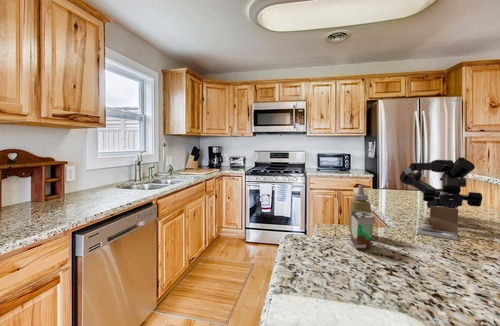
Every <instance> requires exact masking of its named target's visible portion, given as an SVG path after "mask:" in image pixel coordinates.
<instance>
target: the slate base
mask: <svg viewBox="0 0 500 326" xmlns="http://www.w3.org/2000/svg"><path fill="white" fill-rule="evenodd" d="M417 235H419V236H420V235H422V236H425V237H426V236H427V237H432V238H439V239H445V240H451V241H457V242H459V240H460V239H459V237H458V232H457V233H452V232H445V231H438V230H432V231H429V230H423V229H420V225H419V226H418V230H417Z"/></svg>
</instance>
